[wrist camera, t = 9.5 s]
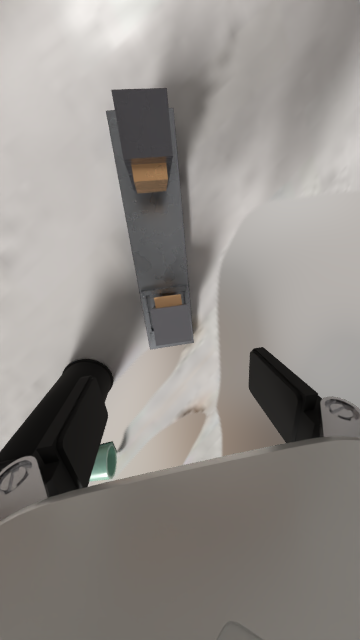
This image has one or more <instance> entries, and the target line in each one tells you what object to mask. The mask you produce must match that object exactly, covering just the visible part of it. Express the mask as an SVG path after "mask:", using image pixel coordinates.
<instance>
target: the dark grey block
mask: <svg viewBox="0 0 360 640" xmlns="http://www.w3.org/2000/svg"><path fill="white" fill-rule="evenodd" d="M154 301H155V307H153V308H152V309H151V316H152V322H153V329H154V335H155V342H156V346H159V345H166V344H173V343H179V342H186V341H192V334H191V326H190V318H189V310H188V304H182V300H181V294H178V295H171V296H163V297H155V298H154Z"/></svg>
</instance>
